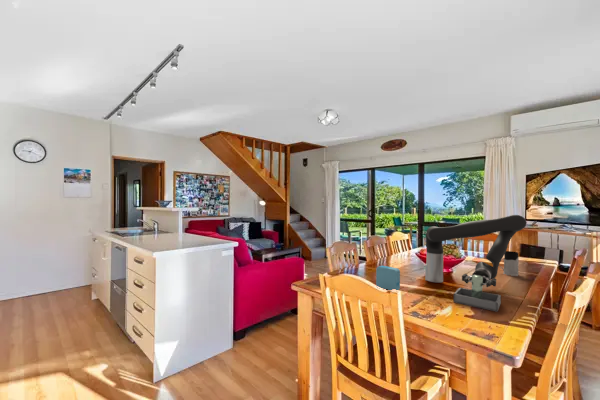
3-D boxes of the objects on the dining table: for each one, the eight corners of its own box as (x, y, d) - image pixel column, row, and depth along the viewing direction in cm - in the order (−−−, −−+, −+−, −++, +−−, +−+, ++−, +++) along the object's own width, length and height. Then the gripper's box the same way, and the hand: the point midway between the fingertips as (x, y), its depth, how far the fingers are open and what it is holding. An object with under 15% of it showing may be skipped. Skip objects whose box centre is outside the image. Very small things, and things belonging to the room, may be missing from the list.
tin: (470, 301, 136) (471, 276, 136) (472, 298, 139) (472, 274, 139) (481, 303, 133) (482, 278, 133) (482, 300, 137) (483, 276, 136)
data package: (399, 290, 153) (400, 268, 153) (396, 292, 150) (396, 270, 150) (380, 285, 162) (380, 264, 162) (375, 287, 158) (376, 266, 158)
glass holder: (519, 276, 184) (520, 253, 184) (493, 273, 191) (493, 251, 191) (518, 273, 191) (518, 251, 191) (493, 270, 199) (493, 249, 199)
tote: (453, 302, 137) (453, 294, 137) (459, 295, 147) (459, 287, 147) (497, 311, 125) (497, 302, 125) (500, 303, 136) (500, 295, 136)
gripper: (466, 266, 152) (459, 272, 139) (498, 271, 143) (494, 278, 130) (466, 280, 152) (459, 287, 139) (498, 286, 143) (494, 294, 130)
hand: (476, 283), depth 135 cm, fingers open, 8 cm apart
